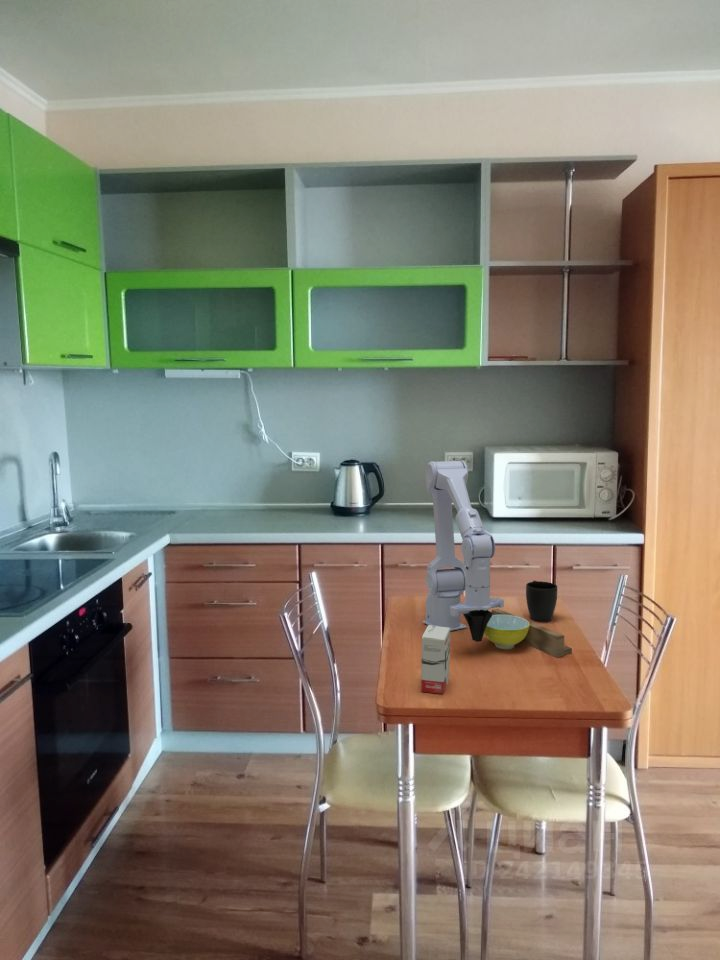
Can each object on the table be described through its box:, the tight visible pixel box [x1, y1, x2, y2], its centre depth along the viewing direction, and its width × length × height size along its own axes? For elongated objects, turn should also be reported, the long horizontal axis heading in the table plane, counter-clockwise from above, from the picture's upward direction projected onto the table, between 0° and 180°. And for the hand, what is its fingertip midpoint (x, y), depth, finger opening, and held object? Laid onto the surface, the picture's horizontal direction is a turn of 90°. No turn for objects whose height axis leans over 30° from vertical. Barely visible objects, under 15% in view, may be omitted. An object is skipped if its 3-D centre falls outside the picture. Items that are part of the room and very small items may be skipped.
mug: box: [525, 580, 558, 623], centre depth 191 cm, size 8×12×10 cm
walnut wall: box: [491, 608, 573, 659], centre depth 173 cm, size 24×5×5 cm, turn 28°
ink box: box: [420, 625, 451, 695], centre depth 146 cm, size 8×5×12 cm, turn 165°
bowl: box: [484, 614, 530, 650], centre depth 169 cm, size 11×12×6 cm
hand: (477, 640), depth 165 cm, fingers closed
